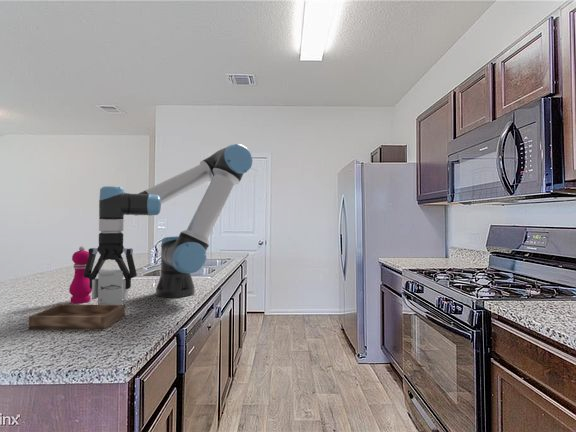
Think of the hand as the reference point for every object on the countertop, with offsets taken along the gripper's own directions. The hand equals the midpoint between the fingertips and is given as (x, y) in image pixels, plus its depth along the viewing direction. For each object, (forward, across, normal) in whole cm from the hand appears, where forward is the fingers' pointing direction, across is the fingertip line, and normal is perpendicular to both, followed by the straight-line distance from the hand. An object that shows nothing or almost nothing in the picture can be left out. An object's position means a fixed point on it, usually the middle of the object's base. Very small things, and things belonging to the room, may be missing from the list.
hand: (110, 298), depth 123 cm
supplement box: (+3, 0, 0) cm, 3 cm away
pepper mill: (+3, +14, -9) cm, 17 cm away
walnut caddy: (+3, +1, +17) cm, 17 cm away
